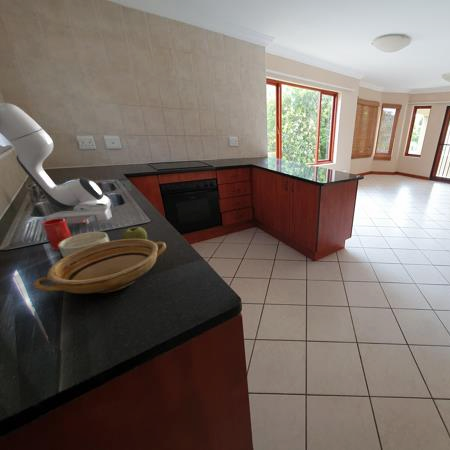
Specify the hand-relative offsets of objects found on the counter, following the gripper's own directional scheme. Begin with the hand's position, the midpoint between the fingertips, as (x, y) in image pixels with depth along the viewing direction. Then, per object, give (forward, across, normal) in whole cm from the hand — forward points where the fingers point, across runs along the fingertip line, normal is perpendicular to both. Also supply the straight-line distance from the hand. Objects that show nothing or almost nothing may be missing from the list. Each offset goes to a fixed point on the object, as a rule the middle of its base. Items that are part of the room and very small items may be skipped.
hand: (70, 223), depth 92 cm
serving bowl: (+14, +10, +6) cm, 18 cm away
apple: (+16, +26, +6) cm, 31 cm away
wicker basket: (+38, +26, +6) cm, 47 cm away
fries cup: (+8, 0, +6) cm, 10 cm away
